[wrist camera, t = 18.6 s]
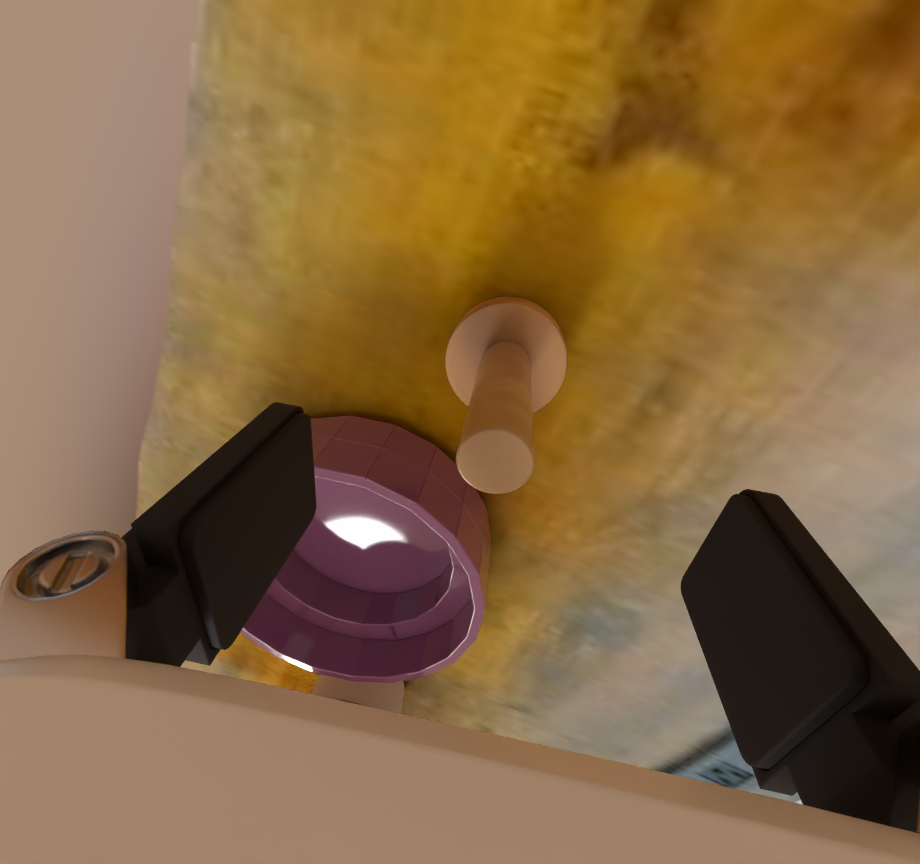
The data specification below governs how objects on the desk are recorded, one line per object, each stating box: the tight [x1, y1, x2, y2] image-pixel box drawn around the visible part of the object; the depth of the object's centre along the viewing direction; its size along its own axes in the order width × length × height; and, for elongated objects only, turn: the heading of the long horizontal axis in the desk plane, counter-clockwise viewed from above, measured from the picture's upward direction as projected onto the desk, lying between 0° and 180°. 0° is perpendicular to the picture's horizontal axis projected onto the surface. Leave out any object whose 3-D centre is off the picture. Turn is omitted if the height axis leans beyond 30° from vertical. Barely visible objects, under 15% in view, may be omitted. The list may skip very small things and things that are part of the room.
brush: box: [445, 296, 568, 494], centre depth 16 cm, size 5×5×11 cm
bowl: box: [240, 416, 492, 683], centre depth 26 cm, size 16×16×6 cm
